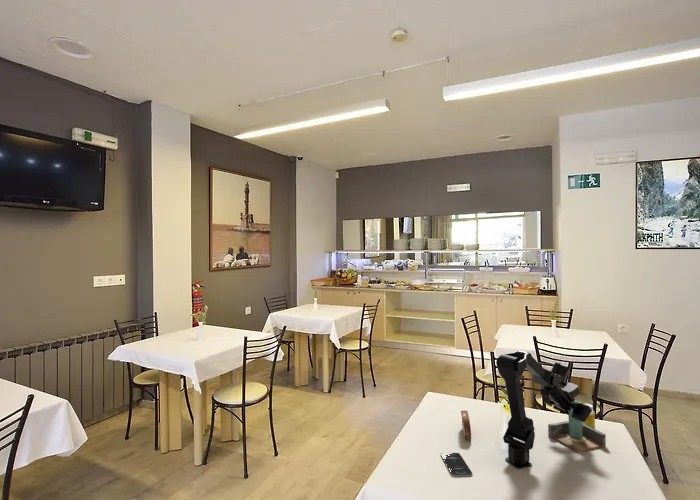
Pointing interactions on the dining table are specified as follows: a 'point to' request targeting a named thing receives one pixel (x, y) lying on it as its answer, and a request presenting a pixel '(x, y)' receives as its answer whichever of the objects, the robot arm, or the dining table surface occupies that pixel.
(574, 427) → the teal bottle
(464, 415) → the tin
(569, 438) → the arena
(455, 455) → the smartphone
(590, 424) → the supplement bottle
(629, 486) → the dining table surface
